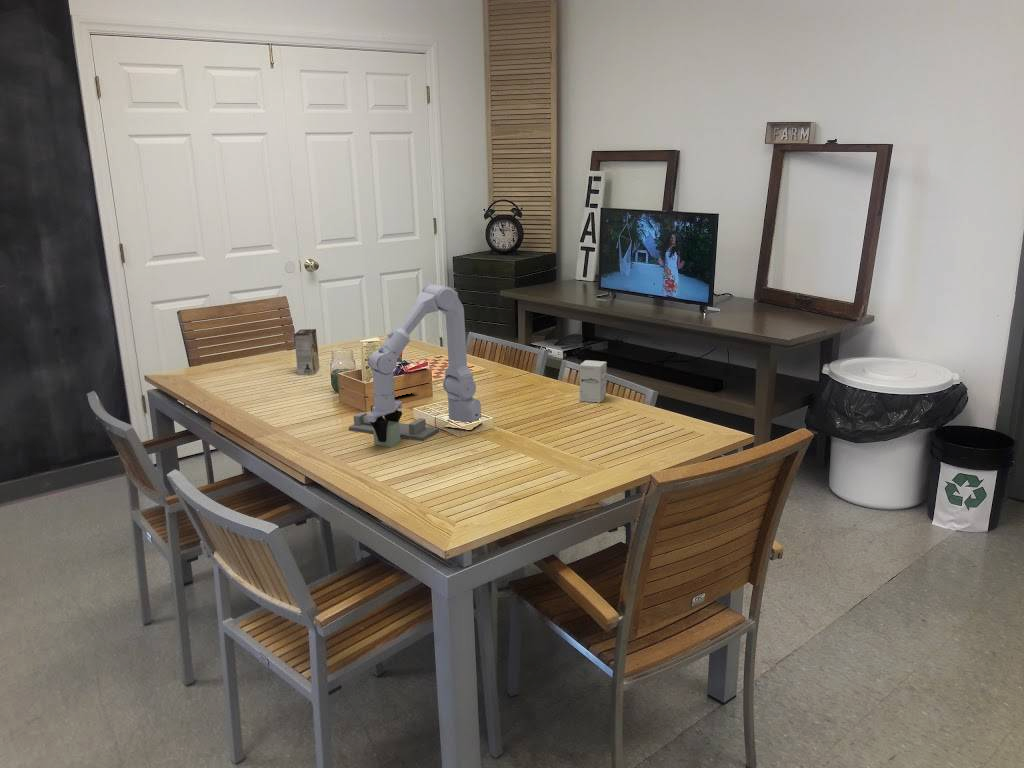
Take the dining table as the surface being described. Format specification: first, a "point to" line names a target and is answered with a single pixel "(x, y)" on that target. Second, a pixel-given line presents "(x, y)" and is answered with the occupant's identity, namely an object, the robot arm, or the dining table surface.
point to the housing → (390, 435)
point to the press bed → (408, 431)
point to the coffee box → (306, 351)
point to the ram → (365, 418)
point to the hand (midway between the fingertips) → (387, 438)
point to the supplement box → (592, 381)
